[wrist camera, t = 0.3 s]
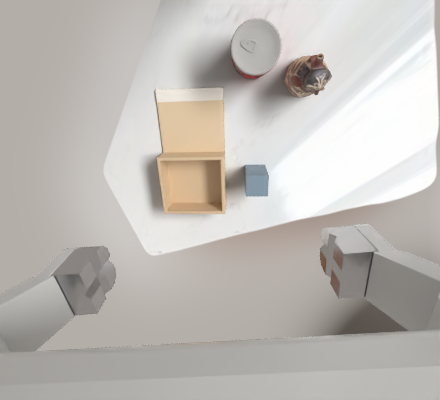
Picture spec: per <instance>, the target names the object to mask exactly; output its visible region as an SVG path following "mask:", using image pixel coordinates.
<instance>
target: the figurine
mask: <svg viewBox="0 0 440 400" xmlns="http://www.w3.org/2000/svg"><path fill="white" fill-rule="evenodd" d="M323 59H324V55H323V54H319V55H313V56H304V57H301V58H299V59H296V60H295V61H294V62H293V63H292V64H291V65H290V66H289V67H288V70H287V72H286V75H285V85H286V87H287V88H288V90H289V91H290V92H291V93H292V94H293V95H294V96H296V97H306V96H309V95H311V94H313V93H314V94H315V95H317V94H318V92H319V91H321V90H324V89H325V88H324V86H325V84H326V83H327V82H328V81H329V80H330V79H331V78H332V75H331V73H330V71H329V69H328V67H327V65H326V63H325V62H324V61H323Z"/></svg>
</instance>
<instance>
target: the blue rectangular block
mask: <svg viewBox="0 0 440 400" xmlns="http://www.w3.org/2000/svg"><path fill="white" fill-rule="evenodd" d="M268 179H269V175H268V172H267V170H266V167H265V165H245V190H246V196H268Z"/></svg>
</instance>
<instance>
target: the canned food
mask: <svg viewBox="0 0 440 400" xmlns="http://www.w3.org/2000/svg"><path fill="white" fill-rule="evenodd" d="M281 47H282V44H281V38H280V34H279V32H278V30H277V29H276V28H275V26H274V25H273V24H271V23H270V22H269V21H267V20H264V19H257V18H255V19H250V20H248V21H246V22H244V23H243V24H241V25H240V26H239V27H238V28H237V30H236V31H235V33H234V35H233V38H232V41H231V57H232V61H233V64H234V67H235V69H236V70H237V71H238V73H239V74H241V75H242V76H244V77H246V78H258V77H261V76H262V75H264V74H266V73H267V72H269V71H270V70H271V69H272V68H273V67H274V66H275V65H276V63H277V61H278V59H279V57H280V54H281Z"/></svg>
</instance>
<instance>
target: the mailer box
mask: <svg viewBox="0 0 440 400" xmlns="http://www.w3.org/2000/svg"><path fill="white" fill-rule="evenodd" d="M155 92H156V100H157V106H158V114H159V122H160V130H161V138H162V145H163V153H162V154H161V155H160V156H159V157H157V164H158V171H159V178H160V186H161V193H162V200H163V207H164V214H225V210H226V176H225V138H224V99H223V87H219V88H194V89H168V90H155Z"/></svg>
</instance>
